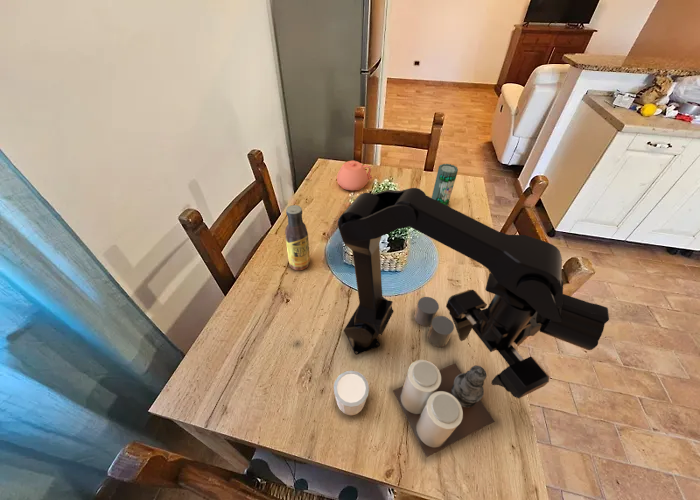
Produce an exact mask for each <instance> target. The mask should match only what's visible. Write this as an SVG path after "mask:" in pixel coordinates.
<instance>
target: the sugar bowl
mask: <svg viewBox="0 0 700 500" xmlns="http://www.w3.org/2000/svg"><path fill="white" fill-rule="evenodd" d="M366 168H367V169H368V171H367V170H366ZM371 172H372V167H371V166H370V165H368V164H364V165H363V164H362V163H361V162H359V161H357V160H349V161H346V162H344V163H343V164H342V165H341V167H340V168H339V170H338V172H337V174H336V182H337V184H338V185H339V186H340V187H341V188H342V189H344V190H345V191H358V190H361V189H363V188H364V187H365V186H366V185H367V184H368V182H369V181H371V180H372V179H373V176H372V174H371Z"/></svg>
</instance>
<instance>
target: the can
mask: <svg viewBox="0 0 700 500" xmlns="http://www.w3.org/2000/svg"><path fill="white" fill-rule="evenodd" d="M458 172H459V168H458V167H457V166H456V165H454V164H450V163H443V164H439V166H438V169H437V173H436V177H435V180H434V181H435V182H434V186H433V190H432V195H431V198H432V199H434V200H436V201H438V202H440V203H442V204H444V205H446V206H448V207H449V204H450V201H451V196H452V193H453V190H454V185H455V182H456V180H457V179H456V178H457V176H458Z"/></svg>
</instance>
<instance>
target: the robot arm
mask: <svg viewBox="0 0 700 500" xmlns="http://www.w3.org/2000/svg"><path fill="white" fill-rule="evenodd" d="M337 227H338V232H339V233H340V236H341V239H342V242H343V244H344V245H345V246H346V247H348V248H349V249H350V250H351V252H352V259H353V266H354V273H355V274H354V275H355V281H356V287H357V296H358V306H357V307H356V309H355V311H354V313H353V314H352V316H351V317H350V318H349V321H348V323H347V324H346V326H345V327H344V328H343V332H344V335H345V336H346V338H347V341H348V342H349V344H350V347H351V349H352V351H353V353H354V355H355V356H358V355H361V354H363V353H365V352H368V351H370V350H373V349H376V348H378V347H380V346H381V342H380V341H379V337H380V336H383V334H384V332H385V330H386V328H387V325H388V324H389V322H390V320H391V317H392V316H393V314H394V309H393V302H394V301H392V300H388V299H387V298H385V297H384V296H383V286H382V285H383V283H382V267H381V250H380V249H381V248H380V243H381V239H382V237H383V236H386V235H388V234H390V233H392V232H394V231H397V230H399V229H405V228H411V229H413V230H415V231H417V232H419V233H421V234H423V235H425V236H427V237H429V238H430V239H432V240H434V241H436V242H438V243H440V244H441V245H444V246H446V247H448V248H450V249H451V250H454V251H455V252H456V253H460V254H461V255H463V256H465V257H467V258H468V259H471V260H472V261H475V262H477V263H478V264H480V265H482V266H483V268H486V269H487V270H488V272H489V274H488V277H487V281H486V284H485V288H484V289H485V291H486V292H488V293H491V294H492V295H493V297H492V299H491V301H490V303H489V304H487V303H486V301H485V300H484V299H483V297H481V295H479V293H478V292H477V291H476V290H475V289H467V290H464V291H461V292H459V293H456V294H452V295H451V296H450V297H448V299H447V301H446V305H445V308H446V309H447V310H448V313H449V315H450V317H451V320H452V323H453V325H454V328H455V329H456V332H457V336H458V338H459V340H460V342H463V341H465V340H467V338H468V337H469V336H470V334H471V331H472V330H473V332H474V333H475V334H476V335H477V337H478V338H479V339H480V341H481V342H482V343H483V344H484V346H485V347H486V349H487V350H488V351H489V352H490V353H492V352H494V351H497V352H498V353H499V354H500V356H501V357H502V358H503V360H504V361H505V362H506V364H507V365H509V366H507V367H506V368H504V369H503V370H502V371H501V372H500V373H498V374H496V375H495V376H494V377H493V379H492V380H491V381H490V382H491V383H490V384H491V385H492V386H499V387H502V388H504V390H506V392H508V393H510V394H511V396H512V397H513V398H516V399H521V398H523V397H525V396H528V395H530V394H532V393H533V392H535V391H537V390H540V389H542V388H543V387H545V386H546V385H547V384H548V383H550V375H549V374H548V373H547V372H546V370H545V369H544V368H543V367H542V366H541V365H540V364H539V362H537V360H536V359H535V358H534V357H533V356H528V357H526V358H523V357H522V355H521V354H520V353H519V352H518V350H517V349H516V348H515V347H514V346H513V344H515V345H519V344H521V343H523V342H524V341H525V340H526V338H527V337H534V336H535V335H537V334H538V333H539V332H540V333H542V334H544V335H546V336H550V337H552V338H555V339H557V340H560V341H563V342H564V343H565V342H566V343H568V344H570V345H573V346H576V347H578V348H581V349H583V350H587V351H593V350H594V349H595V348H596V347H597V346H598V345H599V341H600V339H601V337H602V336H603V333H604V329H605V325H606V324H607V323H608V322H609V321H610V313H609V308H608V307H607V306H603V305H601V304H598V303H593V302H589V301H585V300H584V299H580V298H576V297H574V296H571V295H568V294H565V293H564V281H563V278H562V275H563V273H562V272H563V271H562V270H563V258H562V253H561V251H560V249H559V248H558V247H557V246H555V245H554V244H552V243H550V242H548V241H545V240H542V239H538V238H535V237H532V236H530V235H526V234H508V233H504V232H502V231H499V230H498V229H497V230H496V229H495V228H493V227H491V226H489V225H486V224H485V223H482V222H480V221H479V220H476V219H474V218H472V217H471V216H469V215H466V214H465V213H463V212H460V211H459V210H457V209H454V208H452V207H450V206H449V205H448V206H446V205H444V204H442V203H440V202H438V201H436V200H434V199H432V197H430V196H428V195H427V194H426V193H425V191H423V190H422V189H420V188H417V187H410V188H407V189H403V190H394V189H387V190H383V191H379V192H375V193H372V192H363V193H360V194H359V195H358V196H357V197H356V198H355V199H354V200H353V201H352V203H351V204H349V206H348V207H347V208H346V209H345V210H344V211H343V212H342V214H341V215H340V216H339V217H338V219H337Z"/></svg>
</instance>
